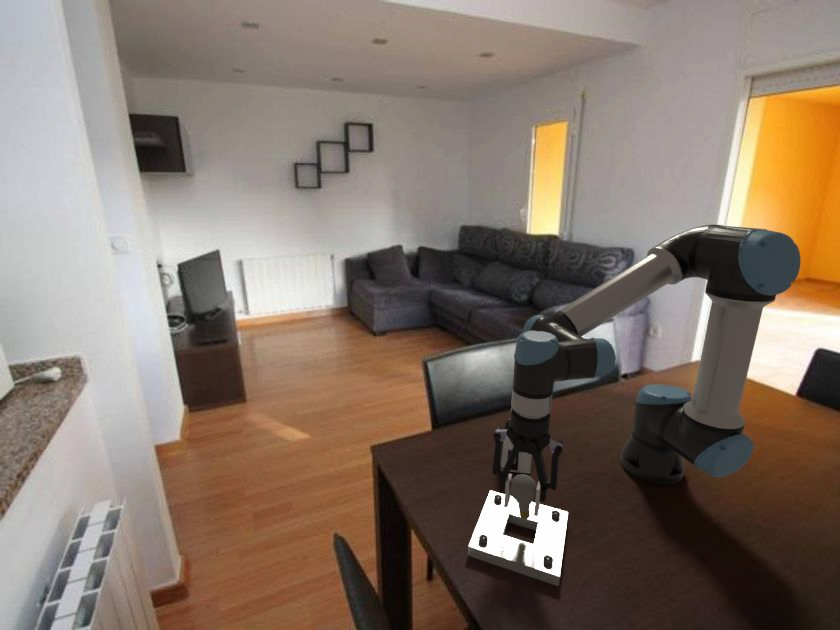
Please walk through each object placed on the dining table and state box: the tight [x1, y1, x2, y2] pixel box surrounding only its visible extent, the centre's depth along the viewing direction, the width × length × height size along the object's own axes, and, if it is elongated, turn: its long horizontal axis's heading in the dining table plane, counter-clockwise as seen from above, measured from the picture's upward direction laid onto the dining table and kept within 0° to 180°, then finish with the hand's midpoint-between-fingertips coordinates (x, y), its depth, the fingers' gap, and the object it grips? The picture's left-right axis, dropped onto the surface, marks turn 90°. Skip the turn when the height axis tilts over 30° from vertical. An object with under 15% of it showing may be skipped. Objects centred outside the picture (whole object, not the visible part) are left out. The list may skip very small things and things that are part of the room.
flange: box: [467, 490, 569, 587], centre depth 92 cm, size 18×18×3 cm
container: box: [501, 418, 533, 475], centre depth 115 cm, size 8×8×13 cm
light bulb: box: [510, 473, 537, 519], centre depth 89 cm, size 5×5×10 cm
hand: (521, 507), depth 90 cm, fingers closed on light bulb, 5 cm apart
